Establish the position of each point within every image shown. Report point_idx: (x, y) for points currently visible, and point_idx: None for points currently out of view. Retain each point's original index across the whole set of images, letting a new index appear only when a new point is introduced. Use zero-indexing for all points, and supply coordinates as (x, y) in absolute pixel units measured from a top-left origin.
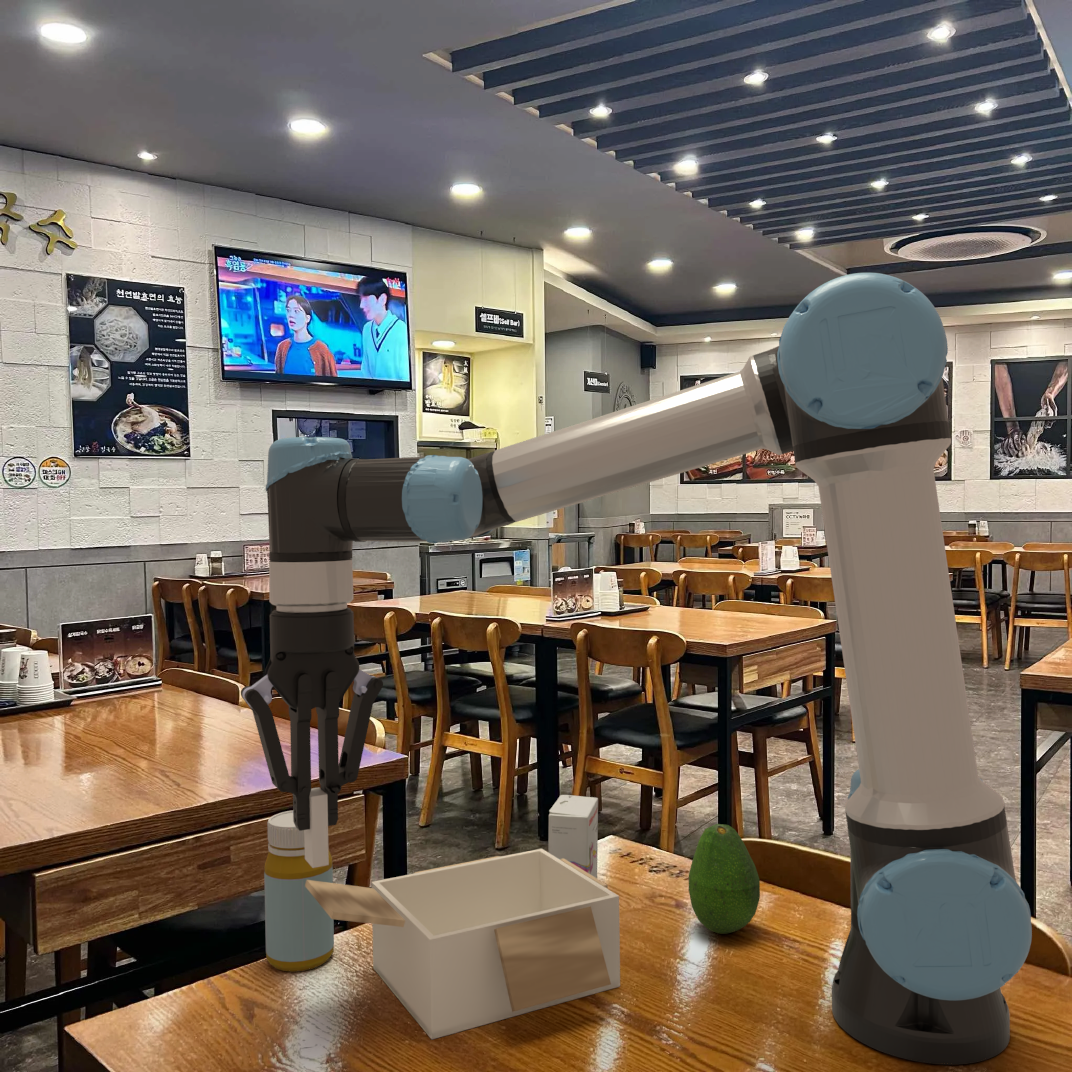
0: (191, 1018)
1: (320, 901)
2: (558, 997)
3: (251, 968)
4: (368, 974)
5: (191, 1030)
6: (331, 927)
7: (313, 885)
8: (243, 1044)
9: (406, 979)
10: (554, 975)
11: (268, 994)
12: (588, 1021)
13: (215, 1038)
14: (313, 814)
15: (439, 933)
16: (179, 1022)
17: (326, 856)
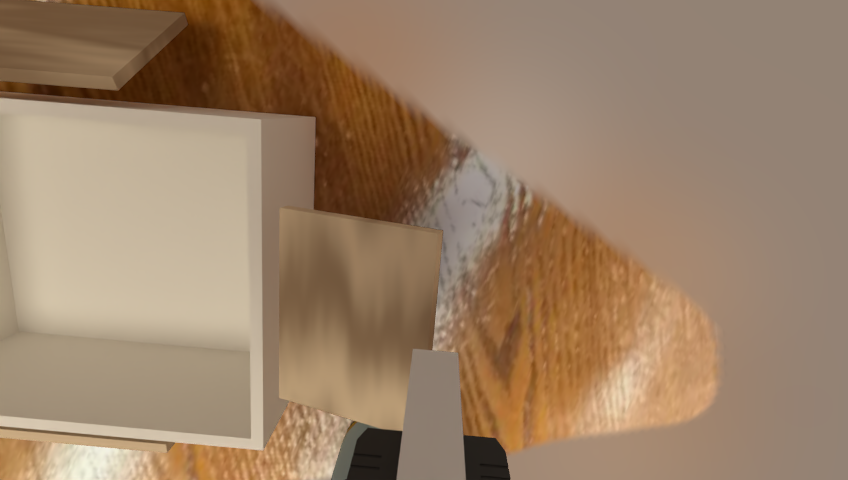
0: (583, 367)
1: (432, 324)
2: (96, 7)
3: None
4: None
5: (594, 336)
6: (345, 449)
7: None
8: (549, 261)
9: None
10: (73, 20)
11: (470, 372)
12: None
13: (575, 298)
14: (456, 451)
15: (187, 359)
16: (600, 366)
17: (417, 361)
